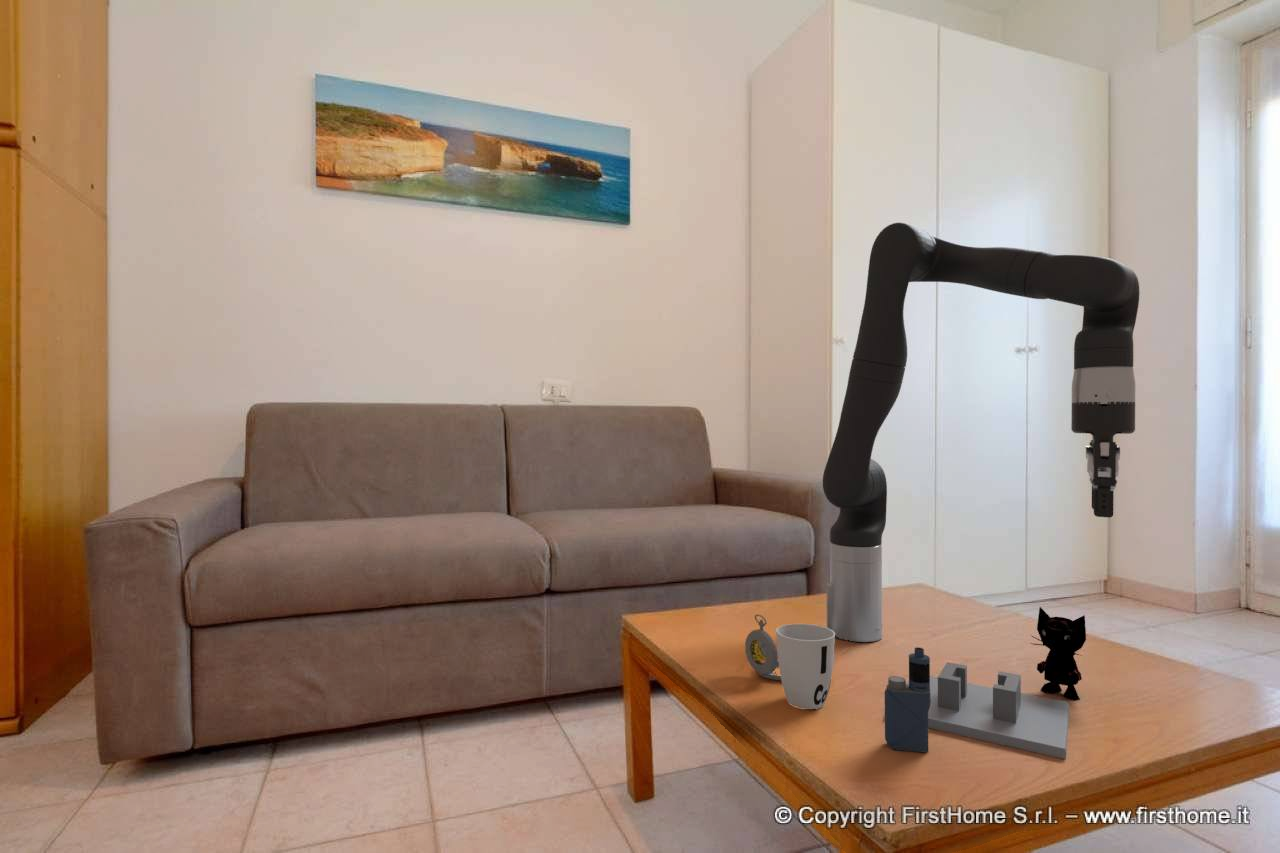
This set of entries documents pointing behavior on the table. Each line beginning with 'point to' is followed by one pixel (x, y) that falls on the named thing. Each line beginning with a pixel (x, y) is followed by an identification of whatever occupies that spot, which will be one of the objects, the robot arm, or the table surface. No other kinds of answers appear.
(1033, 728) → the dock
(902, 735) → the vaping device
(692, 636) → the table surface
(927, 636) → the table surface
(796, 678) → the cup
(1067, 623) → the cat figurine
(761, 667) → the pocket watch
